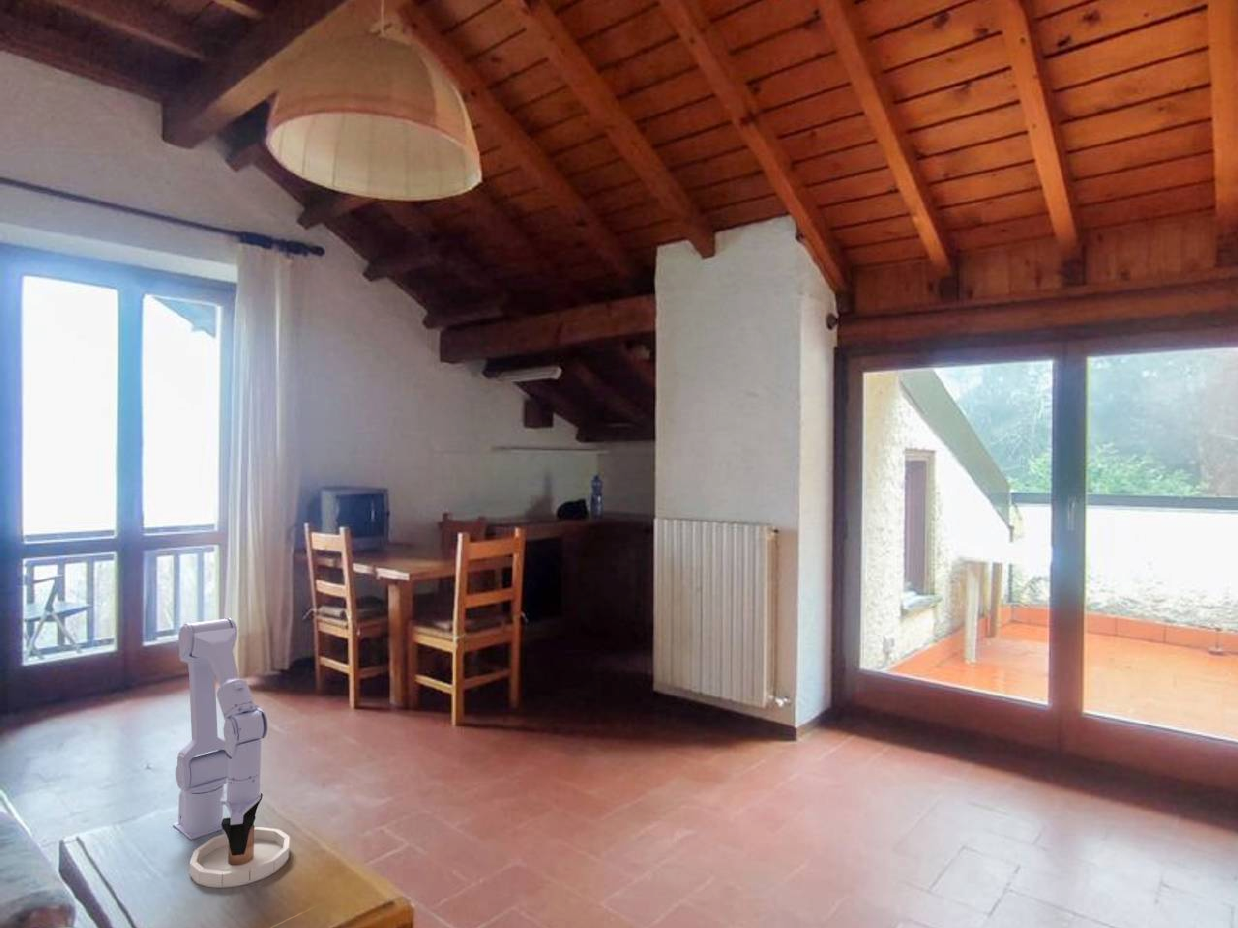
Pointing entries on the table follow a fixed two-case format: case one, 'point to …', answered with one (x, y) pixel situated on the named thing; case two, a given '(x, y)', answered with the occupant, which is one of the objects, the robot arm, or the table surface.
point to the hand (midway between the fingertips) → (241, 843)
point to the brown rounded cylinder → (247, 855)
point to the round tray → (218, 873)
